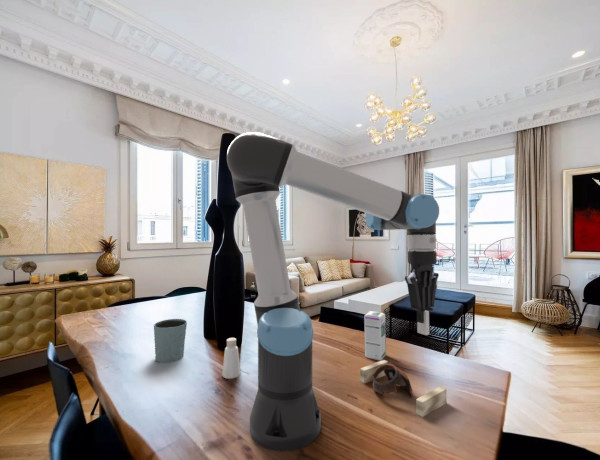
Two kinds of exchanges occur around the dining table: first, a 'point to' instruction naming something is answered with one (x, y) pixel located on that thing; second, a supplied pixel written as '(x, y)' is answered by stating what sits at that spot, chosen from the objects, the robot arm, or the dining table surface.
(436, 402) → the rail cradle
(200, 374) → the dining table surface
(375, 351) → the syrup box
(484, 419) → the dining table surface
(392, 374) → the pottery mug
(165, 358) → the green planter pot
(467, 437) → the dining table surface
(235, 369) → the pepper shaker
